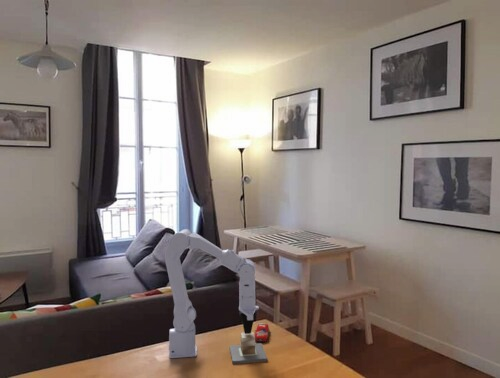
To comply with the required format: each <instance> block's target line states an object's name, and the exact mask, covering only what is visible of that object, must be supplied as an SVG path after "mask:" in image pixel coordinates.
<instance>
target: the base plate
mask: <svg viewBox="0 0 500 378" xmlns="http://www.w3.org/2000/svg"><path fill="white" fill-rule="evenodd" d="M262 343H263V342H256V343H255V354H247V355H242V351H241V344H232V345H229V352H230V357H231V363H232V365H236V364H237V365H238V364H248V363H249V364H251V363H262V362H263V363H264V362H268V356H267V353H266V351H265V349H264V347H263V346H264V345H263V344H262Z"/></svg>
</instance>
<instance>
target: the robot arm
mask: <svg viewBox="0 0 500 378" xmlns="http://www.w3.org/2000/svg"><path fill="white" fill-rule="evenodd" d="M166 246H167V247H166V249H165V251H164V262H165V266H166V272H167V274H168V275H167V276H168V281H169V285H170V290H171V295H172V298H173V299H172V300H173V305H174V306H173V307H174V308H173V317H174V318H173V321H172V324H173V327H174V328H170V329H169V335H168V351H169V359H175V358H176V359H178V358H180V359H181V358H193V357H194V358H195V357H197V356H198V351H197V350H198V347H197V345H196V325H195V323H194V321H195V319H196V318H197V311H196V309H195V308H194V307H193V304H192V301H191V300H190V299H189V295H188V290H187V285H186V281H185V276H184V271H183V267H182V263H181V256H182V254H183V253H184V251H185V250H187V248H188V249H189V250H195V249H199V250H201V251H203V252H205V253H207V254H209V255H210V256H213V257H214V258H217V259H218V261H219V264H220V265H222V266H223V267H226V268H228V269H229V270H230V271H232V272H234V273H237V276H238V277H239V281H238V286H239V287H238V292H239V293H238V294H239V296H238V301H239V302H238V303H239V304H238V305H239V306H238V311H239V312H238V314H239V316H240V317H239V318H240V319H241V322H242V327H243V333H244V332H245V334H250V333H251V332H252V329H253V325H254V322H255V319H256V318H257V314H256V311H258V310H260V306H259V305H256V276H255V275H256V274H255V273H256V268H257V267H256V264H255V262H254V261H253V260H252V259H250V258H249V259H248V258H247V257H245V256H243V257H242V256H241V255H239V254H237V253H235V252H236V251H235V250H234V249H221V248H220V247H218V246H217V245H216V244H214V243H212V242H211V241H209V240H208V239H206V238H204V237H203V236H202V235H200V234H198V233H197V232H193V231H192V230H190V229H187V228H184V229H181V230H180V231H178V232H176V233H174V234H173V235H172V236H171V237H170V239H169V240H168V244H167V245H166Z"/></svg>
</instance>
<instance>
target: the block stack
mask: <svg viewBox="0 0 500 378" xmlns="http://www.w3.org/2000/svg"><path fill="white" fill-rule="evenodd" d="M254 335H255V333H254V331H251V333H250V334H245V332H244V331H243V332H240V345H241V351H242V355H247V354H255V344H256V341H255V336H254Z"/></svg>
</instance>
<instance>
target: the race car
mask: <svg viewBox="0 0 500 378" xmlns="http://www.w3.org/2000/svg"><path fill="white" fill-rule="evenodd" d="M254 332H255V333H254V336H255V343H265V342H268V339H269V334H270V326H269V324H268V323H266V322H265V323H262V322H261V323H258V324H257V325H256V328H255V330H254Z"/></svg>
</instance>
